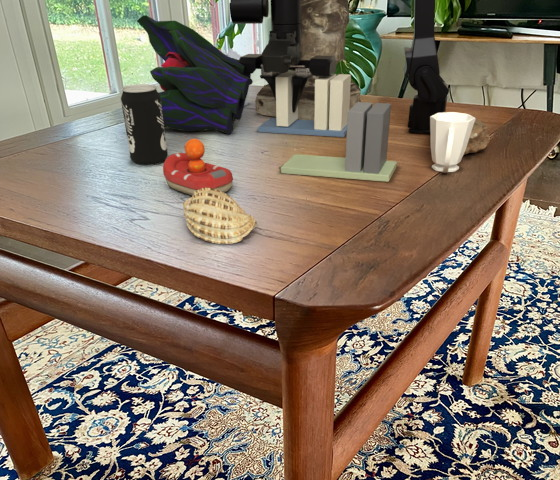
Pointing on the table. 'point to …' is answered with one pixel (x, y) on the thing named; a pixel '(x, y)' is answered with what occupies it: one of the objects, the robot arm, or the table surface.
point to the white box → (285, 99)
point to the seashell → (217, 217)
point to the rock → (477, 138)
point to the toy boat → (195, 171)
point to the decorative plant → (195, 79)
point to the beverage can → (144, 124)
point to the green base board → (354, 149)
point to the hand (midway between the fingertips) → (287, 111)
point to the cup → (449, 139)
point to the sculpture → (315, 52)
